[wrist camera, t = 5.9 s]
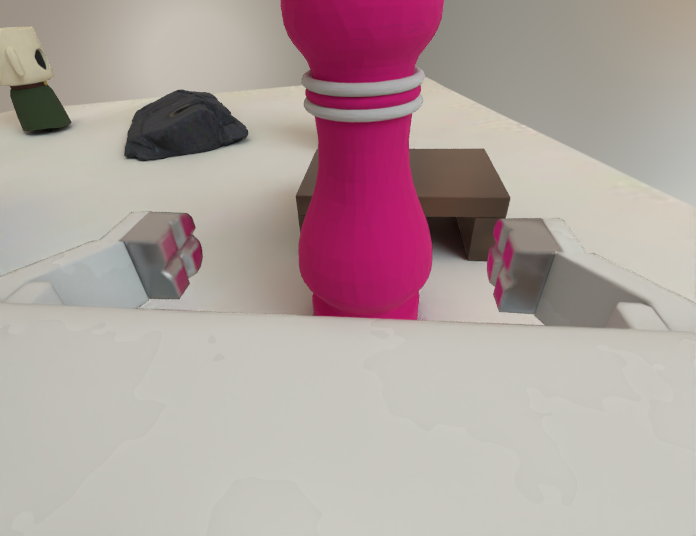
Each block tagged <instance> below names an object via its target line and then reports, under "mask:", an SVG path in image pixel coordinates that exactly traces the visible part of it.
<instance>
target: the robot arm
mask: <svg viewBox="0 0 696 536" xmlns="http://www.w3.org/2000/svg"><path fill="white" fill-rule="evenodd" d="M195 228H196V227H195V225H194V222H193V219H192V217H191V216H190V215H189V214H188V213H172V212H151V211H142V212H131V213H130V214H129V215H127V216H126V217H125V218H124V219H123V220H122V221H121V222H119V223H118V224H117V225H116V226H115V227H114V228H113V229H111V230H110V231H109V232H108V233H107V234H106V235H105V236H103V237H102V238H101V239H100V240H99V241H91V242H88V243H86V244H83V245H80V246H78V247H75V248H73V249H70V250H67V251H65V252H62V253H59V254H57V255H54V256H52V257H49V258H46V259H44V260H41V261H38V262H36V263H33V264H30V265H28V266H25V267H23V268H20V269H17V270H15V271H12V272H9V273H7V274H4V275H2V276H0V536H696V303H695V302H693V301H691V300H689V299H687V298H685V297H683V296H681V295H679V294H677V293H675V292H673V291H670V290H668V289H666V288H664V287H662V286H660V285H658V284H656V283H654V282H652V281H650V280H648V279H646V278H644V277H642V276H640V275H638V274H636V273H633V272H631V271H629V270H627V269H625V268H623V267H621V266H619V265H617V264H615V263H613V262H611V261H609V260H607V259H605V258H603V257H601V256H599V255H596V254H594V253H587V252H586V251H585V250H584V248H583V247H582V245H581V244H580V242H579V241H578V240H577V238H576V237H575V235H574V234H573V233H572V231H571V230H570V228H569V227H568V226H567V224H566V223H565V221H564V220H562V219H560V218H549V219H541V218H518V219H497V221H496V223H495V226H494V230H493V236H494V239H495V241H496V243H495V244H494V245H493V246H492V247H491V248H490V249H489V254H488V259H487V273H488V278H489V282H490V283H491V284H492V285H493V286H495V289H494V294H493V295H494V298H495V301H496V304H497V307H498V310H499V312H509V313H524V314H535V315H534V316H535V317H537V318H538V319H539V320H540V321H541V322H542V323H543V324H544V325H523V324H499V323H475V322H451V321H427V320H403V319H379V318H355V317H332V316H308V315H284V314H260V313H236V312H213V311H189V310H165V309H141V308H138V307H140V306H141V305H143V304H144V303H146V302H147V301H149V299H180V297H181V296H182V294H183V293H184V291H185V290H186V288H187V287H188V286H189V284H190V283H189V280H188V278H189V277H191V276H193V275H195V274H196V273H197V272H198V270H199V269H200V267H201V263H202V258H203V255H202V247H201V244H200V241H199V240H198V239H197V238H196V237H195V236H194V235H192V234H193V232H194V230H195Z"/></svg>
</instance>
